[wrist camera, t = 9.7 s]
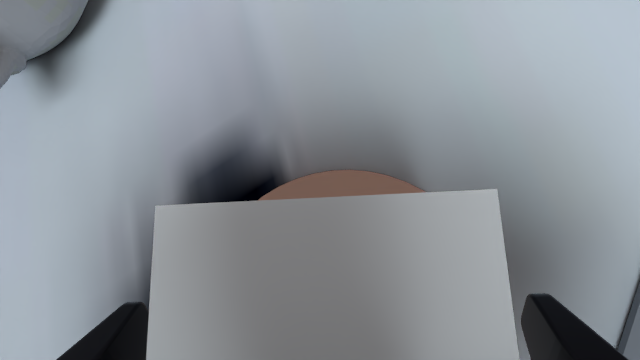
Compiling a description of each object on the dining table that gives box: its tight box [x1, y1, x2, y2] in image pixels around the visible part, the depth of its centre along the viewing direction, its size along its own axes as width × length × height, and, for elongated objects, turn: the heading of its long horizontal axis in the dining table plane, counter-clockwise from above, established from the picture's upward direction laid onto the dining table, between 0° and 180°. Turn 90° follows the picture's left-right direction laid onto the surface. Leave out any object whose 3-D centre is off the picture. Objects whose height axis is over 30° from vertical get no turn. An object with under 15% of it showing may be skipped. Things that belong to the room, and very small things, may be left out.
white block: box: [146, 189, 520, 360], centre depth 12 cm, size 7×7×9 cm
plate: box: [258, 170, 425, 201], centre depth 17 cm, size 13×13×1 cm
